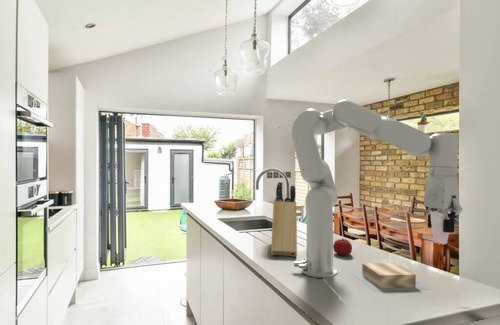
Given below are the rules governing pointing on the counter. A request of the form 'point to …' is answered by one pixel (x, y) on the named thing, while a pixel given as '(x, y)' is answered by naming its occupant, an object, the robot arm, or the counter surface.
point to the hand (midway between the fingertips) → (440, 229)
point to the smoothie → (438, 226)
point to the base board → (376, 288)
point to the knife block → (284, 224)
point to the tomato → (342, 247)
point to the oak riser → (388, 275)
